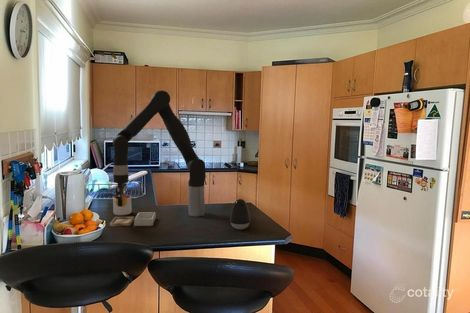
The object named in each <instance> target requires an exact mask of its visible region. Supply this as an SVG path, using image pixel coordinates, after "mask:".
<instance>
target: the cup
mask: <svg viewBox="0 0 470 313" xmlns="http://www.w3.org/2000/svg"><path fill="white" fill-rule="evenodd" d="M125 195H126V196H125V197H126V198H127V204H126V205H125V206H123V207H119V206H117V205H116V195H115V196H113V198H112V202H113V203H112V205H113V207H112V208H113V210H112V211H113V215H115V216H119V217H123V216H128V215H130V214H131V213H132V211H133V210H132V195H127V194H125Z"/></svg>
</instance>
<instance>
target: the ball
mask: <svg viewBox="0 0 470 313" xmlns="http://www.w3.org/2000/svg"><path fill="white" fill-rule="evenodd" d="M119 197H120V195H119ZM122 204H123V205H122V206H119V207H123V206H125V205H126V204H127V198H126V197H125V196H123V199H122ZM116 205H117V206H118V199H116Z"/></svg>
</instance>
